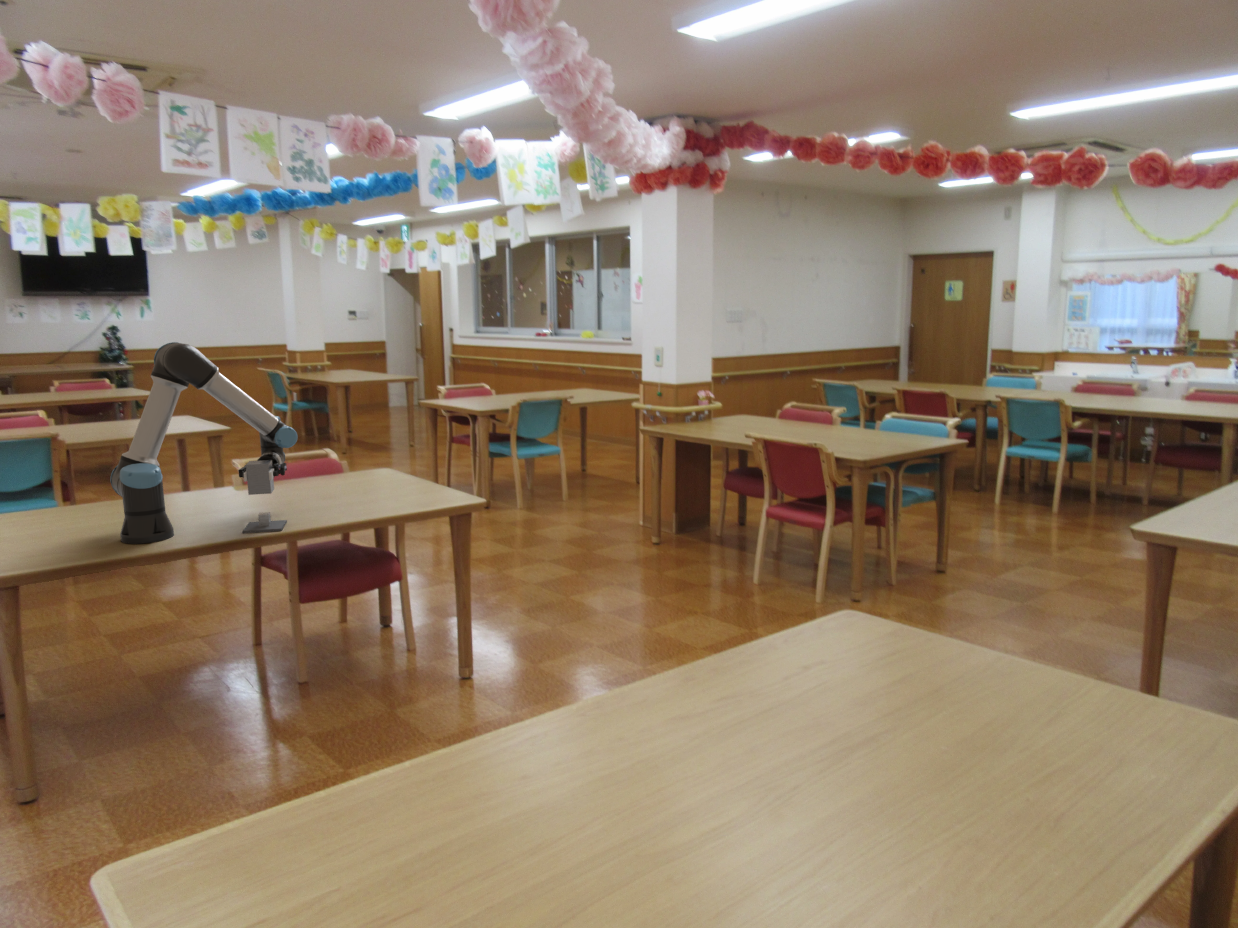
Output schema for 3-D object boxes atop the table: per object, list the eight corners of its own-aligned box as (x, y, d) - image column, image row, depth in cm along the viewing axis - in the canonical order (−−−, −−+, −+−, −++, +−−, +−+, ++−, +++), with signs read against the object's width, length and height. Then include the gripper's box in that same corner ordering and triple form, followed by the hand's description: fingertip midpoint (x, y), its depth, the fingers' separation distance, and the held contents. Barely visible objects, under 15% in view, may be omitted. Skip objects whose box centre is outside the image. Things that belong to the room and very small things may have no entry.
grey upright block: (248, 494, 288) (245, 464, 286) (252, 490, 295) (249, 461, 293) (271, 493, 290) (268, 463, 288) (274, 489, 296) (271, 460, 295)
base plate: (242, 533, 287) (242, 530, 287) (249, 524, 299) (249, 521, 299) (281, 530, 290) (281, 528, 290) (286, 522, 301) (286, 519, 301)
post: (259, 526, 292) (258, 514, 292) (260, 524, 295) (259, 512, 295) (269, 526, 293) (268, 514, 292) (271, 523, 296) (270, 512, 295)
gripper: (299, 473, 312) (291, 486, 290) (239, 476, 307) (226, 489, 285) (297, 452, 310) (289, 463, 288) (237, 455, 306) (223, 467, 284)
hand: (257, 476), depth 287 cm, fingers closed on grey upright block, 7 cm apart
